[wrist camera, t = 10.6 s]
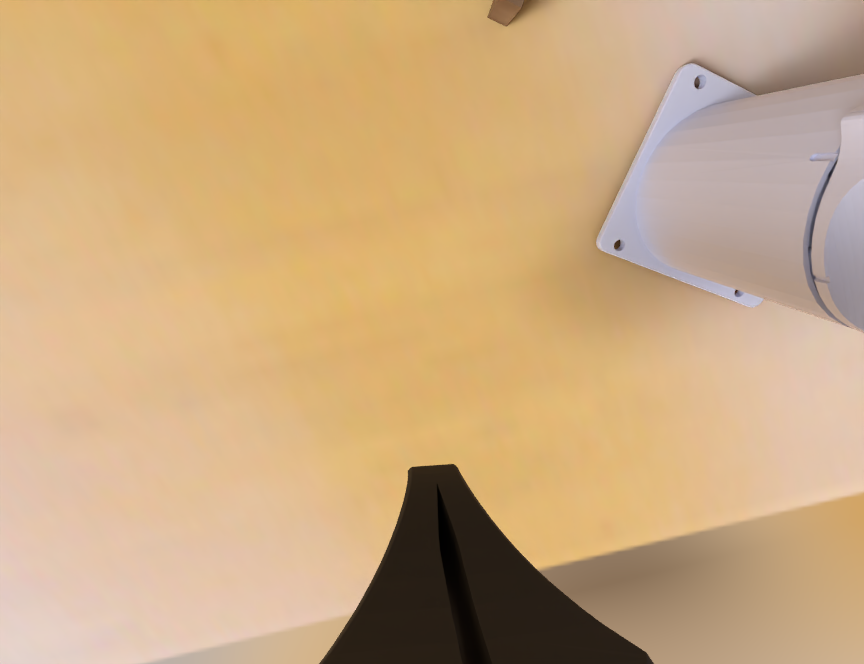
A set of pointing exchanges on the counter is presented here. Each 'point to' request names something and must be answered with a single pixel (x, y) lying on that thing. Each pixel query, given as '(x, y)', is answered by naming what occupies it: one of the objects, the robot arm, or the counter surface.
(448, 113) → the counter surface
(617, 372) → the counter surface
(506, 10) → the frame
